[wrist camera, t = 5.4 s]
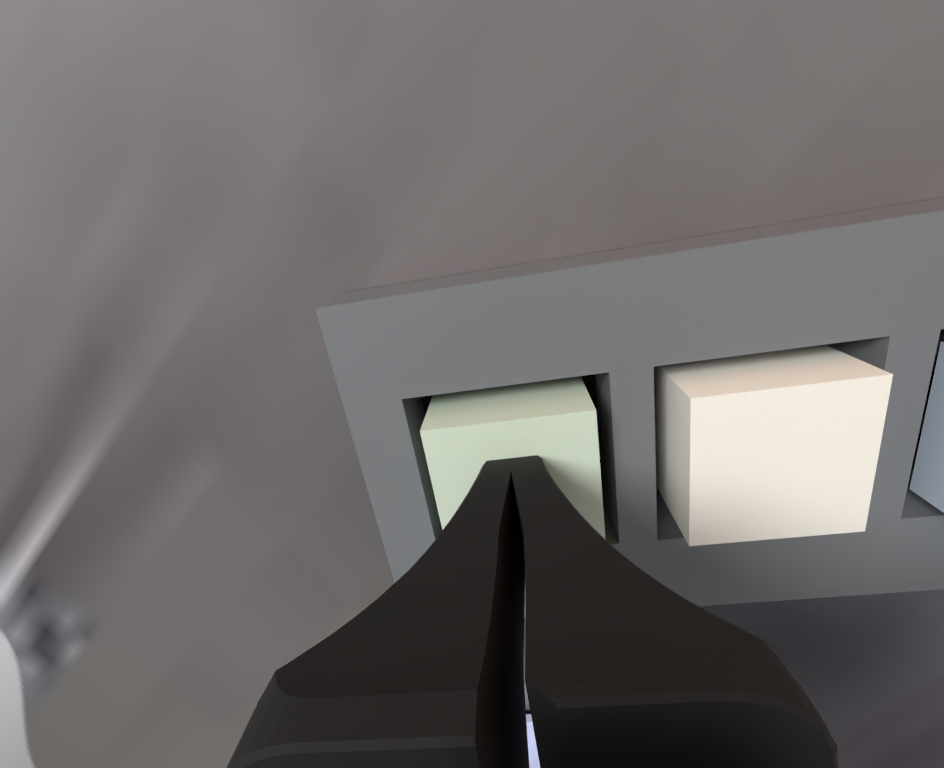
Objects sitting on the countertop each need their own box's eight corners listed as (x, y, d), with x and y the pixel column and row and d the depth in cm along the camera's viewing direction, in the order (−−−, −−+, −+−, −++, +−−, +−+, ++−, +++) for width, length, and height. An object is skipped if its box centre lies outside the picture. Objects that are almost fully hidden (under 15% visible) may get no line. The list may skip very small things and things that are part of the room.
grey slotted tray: (1309, 503, 13) (1446, 554, 11) (418, 577, 16) (407, 627, 14) (1549, 101, 9) (1808, 75, 7) (342, 292, 12) (315, 308, 10)
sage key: (588, 494, 14) (606, 553, 11) (458, 507, 14) (450, 566, 12) (578, 371, 12) (595, 409, 10) (434, 390, 13) (419, 431, 10)
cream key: (800, 473, 13) (865, 531, 11) (657, 487, 14) (689, 546, 11) (815, 340, 12) (893, 374, 9) (654, 361, 12) (690, 398, 10)
